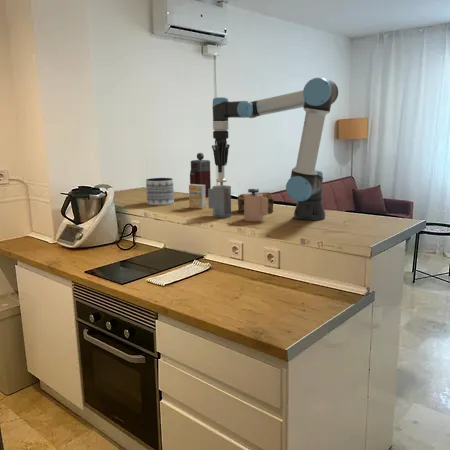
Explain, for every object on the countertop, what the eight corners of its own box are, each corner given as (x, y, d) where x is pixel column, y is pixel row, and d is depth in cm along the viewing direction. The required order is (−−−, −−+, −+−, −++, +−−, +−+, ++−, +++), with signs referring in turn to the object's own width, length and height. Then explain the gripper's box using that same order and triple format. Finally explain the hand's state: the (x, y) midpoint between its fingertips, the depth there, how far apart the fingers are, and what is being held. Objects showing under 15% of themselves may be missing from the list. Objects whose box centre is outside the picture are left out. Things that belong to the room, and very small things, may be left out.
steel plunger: (220, 203, 237) (219, 178, 235) (228, 204, 235) (228, 179, 232) (215, 204, 233) (214, 179, 230) (223, 205, 231) (223, 180, 228)
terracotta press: (249, 216, 232) (249, 193, 229) (271, 219, 226) (271, 194, 223) (240, 220, 224) (240, 195, 222) (263, 222, 218) (263, 197, 216)
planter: (179, 202, 280) (178, 178, 277) (162, 206, 267) (161, 181, 264) (159, 200, 288) (158, 177, 285) (141, 204, 275) (140, 180, 272)
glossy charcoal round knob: (251, 212, 229) (251, 188, 226) (260, 213, 226) (260, 189, 224) (246, 213, 224) (246, 189, 222) (255, 214, 222) (255, 190, 219)
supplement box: (189, 208, 259) (188, 184, 256) (192, 206, 263) (192, 183, 261) (202, 209, 256) (201, 185, 253) (206, 207, 260) (205, 184, 258)
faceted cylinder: (214, 213, 243) (213, 184, 240) (234, 215, 237) (234, 186, 233) (204, 216, 235) (203, 186, 232) (225, 218, 229) (224, 188, 226)
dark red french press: (188, 197, 298) (187, 153, 292) (201, 195, 306) (200, 152, 300) (198, 198, 292) (197, 153, 286) (211, 196, 300) (210, 152, 295)
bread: (272, 209, 252) (272, 191, 250) (273, 213, 242) (273, 194, 240) (237, 209, 253) (237, 191, 251) (237, 213, 242) (237, 194, 240)
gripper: (221, 130, 234) (221, 177, 239) (206, 130, 223) (207, 179, 228) (234, 130, 230) (234, 177, 235) (220, 130, 219) (220, 180, 224)
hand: (221, 178), depth 231 cm, fingers closed
